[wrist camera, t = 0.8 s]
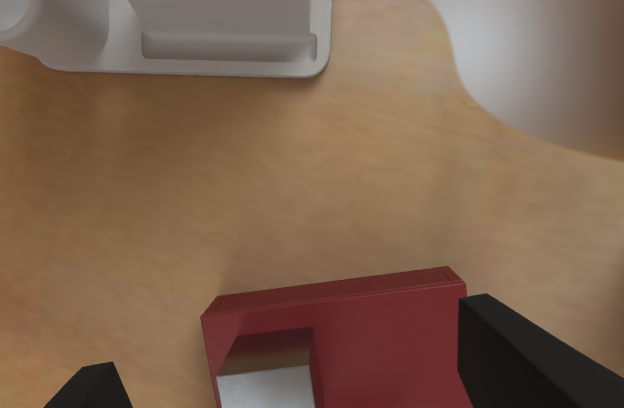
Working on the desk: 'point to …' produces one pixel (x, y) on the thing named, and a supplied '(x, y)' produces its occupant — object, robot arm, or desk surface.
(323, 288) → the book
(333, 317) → the cover
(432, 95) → the desk surface
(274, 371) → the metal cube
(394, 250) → the desk surface
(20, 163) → the desk surface
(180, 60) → the phone holder
